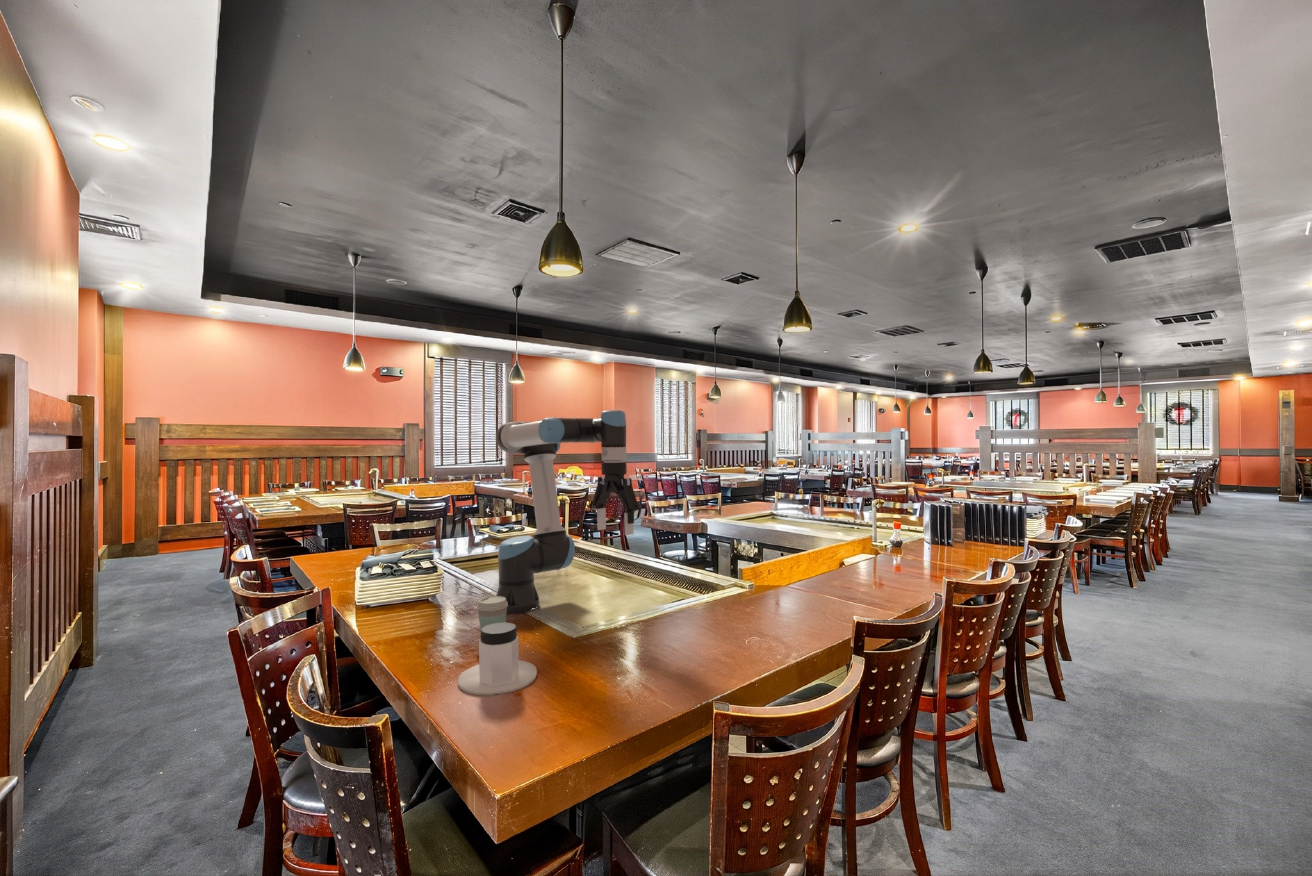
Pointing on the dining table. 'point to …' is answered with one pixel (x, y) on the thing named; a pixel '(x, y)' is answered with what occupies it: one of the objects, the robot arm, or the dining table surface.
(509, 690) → the saucer
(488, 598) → the coffee cup
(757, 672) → the dining table surface
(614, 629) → the dining table surface
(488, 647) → the jar
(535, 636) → the dining table surface
